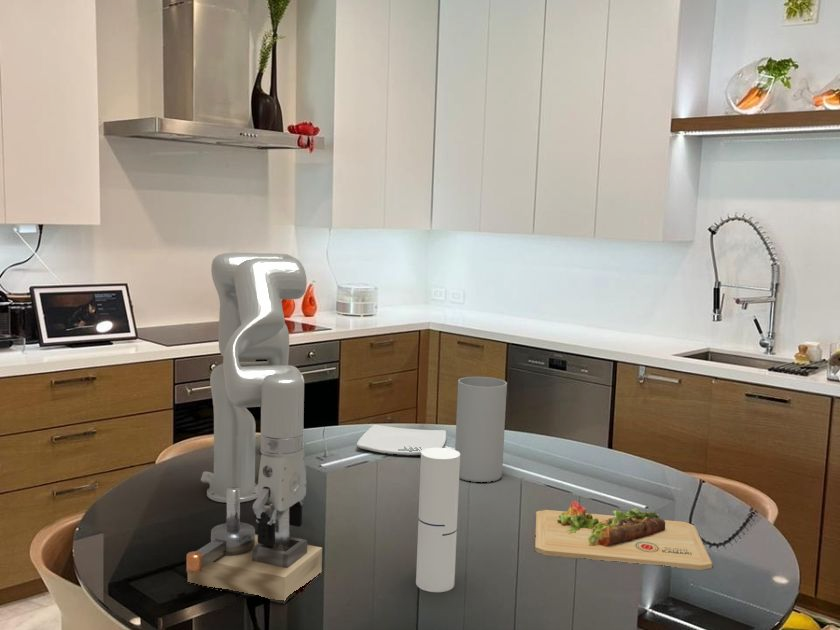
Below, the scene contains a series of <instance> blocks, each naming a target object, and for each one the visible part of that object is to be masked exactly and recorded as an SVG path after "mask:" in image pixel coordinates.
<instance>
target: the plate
mask: <svg viewBox="0 0 840 630" xmlns="http://www.w3.org/2000/svg"><path fill="white" fill-rule="evenodd" d="M446 441H447V431H446V430H444V429H441V430H440V429H416V428H415V429H413V428H405V427H394V426H388V425H381V424H380V425H379V424H373V425H371V427H370V428H369V429H367V430H366V431H365V433H364V434H362V435H361V437H360V438H359V439H358V441H357V443H356V446H357V448H359V449H361V450H362V449H363V450H367V451H371V452H376V453H380V454H386V453H387V455H393V454H397V455H396V456H410V455H411V456H421V451H422V450H424V449H427V448H438V447H439V448H444V446H445V443H446ZM404 446H405V447H406V448H407V449H409V448H410V447H412V448H413V449H414V448H415V447H417V448H418V449H419V450H420V451H419V450H418V451H412V452H409V451H398V449H404ZM409 446H410V447H409ZM419 447H421V449H422V450H421V449H420V448H419ZM409 450H410V449H409ZM414 450H416V449H414Z"/></svg>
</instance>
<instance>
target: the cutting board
mask: <svg viewBox="0 0 840 630" xmlns="http://www.w3.org/2000/svg"><path fill="white" fill-rule="evenodd" d="M611 513H612V514H613V515H612V514H611V515H608V514H597V513H588V512H587V508H586V507H584V506H582V505H581V504H580V503H579V502H578V501H577V500H573V501H571V502H570V505H569V507H568V510H567V511H566V510H565V511H562V510H551V509H542V510H537V511H535V535H536V537H535V538H534V539H535V543H534V547H535V548H534V552H536V553H539V554H540V555H544V556H548V557H557V556H561V557H560V558H569V559H570V558H571V559H578V558H586V559H585V560H589V559H592V560H591V561H600V560H604V561H603V562H610V561H619V562H618V563H621V562H628V563H627V564H632V563H639V564H638V565H642V564H653V565H654V564H655V565H663V566H662V567H664V565H665V566H671V567H670V568H674V567H677V569H687V570H698V571H704V570H708V569H712V568H713V561H712V560H711V557H710V556H709V554H708V551H707V549H706V547H705V544H704V542H703V540H702V538H701V537H700V535H699V532H698V530H697V527H696V526H695V524H692V523H689V522H685V521H679V520H668V519H667V520H666V519H662V518H660V515H659V514H657V513H656V512H654V511H649V512H647V511H645V512H644V511H643V512H642V511H640V510H639V509H638V508H637V507H634V508H630V509H629V510H628V511H627V512H625V513H623V512H622V511H621V510H618V509H617V510H613V511H611ZM620 561H621V562H620ZM653 565H652V566H653Z"/></svg>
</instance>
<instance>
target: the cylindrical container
mask: <svg viewBox="0 0 840 630" xmlns="http://www.w3.org/2000/svg"><path fill="white" fill-rule="evenodd" d="M459 470H460V453H459V452H458V451H456V450H455V449H452V448H449V447H442V448H439V447H438V448H427V449H424V450H422V451H421V455H420V470H419V472H420V473H419V493H418V494H419V495H418V496H419V497H418V522H417V525H418V526H417V550H416V551H417V552H416V573H415V574H416V577H415V584H416V586H417V588H419V589H420V590H423V591H426V592H430V593H443V592H444V593H445V592H449V591H451V590H452V589H453V588H454V587H455V579H456V578H455V577H456V576H455V575H456V559H457V558H456V555H457V552H456V551H457V537H458V536H457V533H458V531H457V530H458V511H459V509H458V508H459V493H460V491H459V489H460V478H459Z"/></svg>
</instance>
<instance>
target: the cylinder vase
mask: <svg viewBox="0 0 840 630" xmlns="http://www.w3.org/2000/svg"><path fill="white" fill-rule="evenodd" d="M457 381H458V382H457V395H456V397H457V400H456V401H457V402H456V419H455V420H456V422H455V425H456V426H455V444H454V445H455V447H454V448H455V449H454V450H456V451H458V452H459V453H460V470H459V480H463V481H466V482H469V481H471V482H470V483H476V482H481V483H480V484H483V483H482V482H487V483H492V482H491V481H493V482H496V481H498V480H500V479H501V478H502V477H503V465H504V449H505V448H504V447H505V446H504V445H505V429H506V428H505V426H506V410H507V409H506V407H507V393H508V392H507V389H508V382H507V381H506V380H503V379H500V378H495V377H487V376H466V377H461V378H459V379H458V380H457Z"/></svg>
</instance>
